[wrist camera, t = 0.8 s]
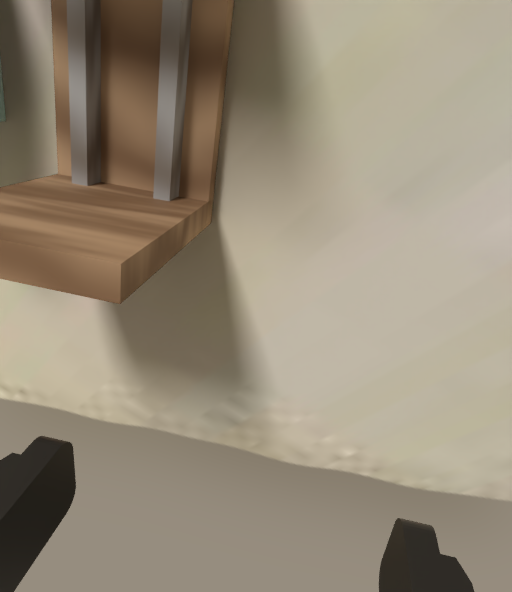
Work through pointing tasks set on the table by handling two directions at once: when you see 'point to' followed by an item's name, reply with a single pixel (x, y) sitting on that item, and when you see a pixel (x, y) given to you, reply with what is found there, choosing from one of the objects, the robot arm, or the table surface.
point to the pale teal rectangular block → (1, 98)
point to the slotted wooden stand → (122, 146)
